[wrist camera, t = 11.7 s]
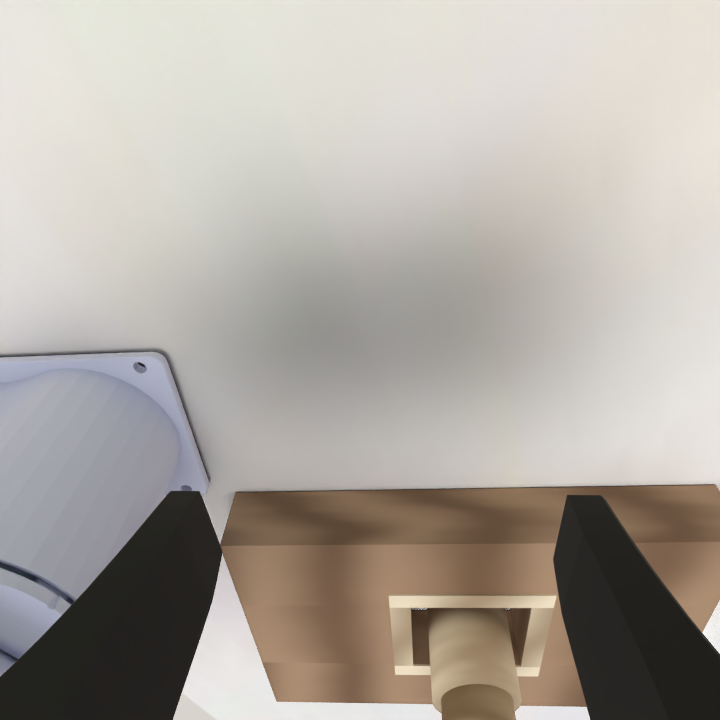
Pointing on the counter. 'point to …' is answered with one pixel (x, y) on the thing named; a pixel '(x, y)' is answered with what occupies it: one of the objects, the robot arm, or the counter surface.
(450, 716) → the beech peg
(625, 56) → the counter surface
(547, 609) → the socket board
